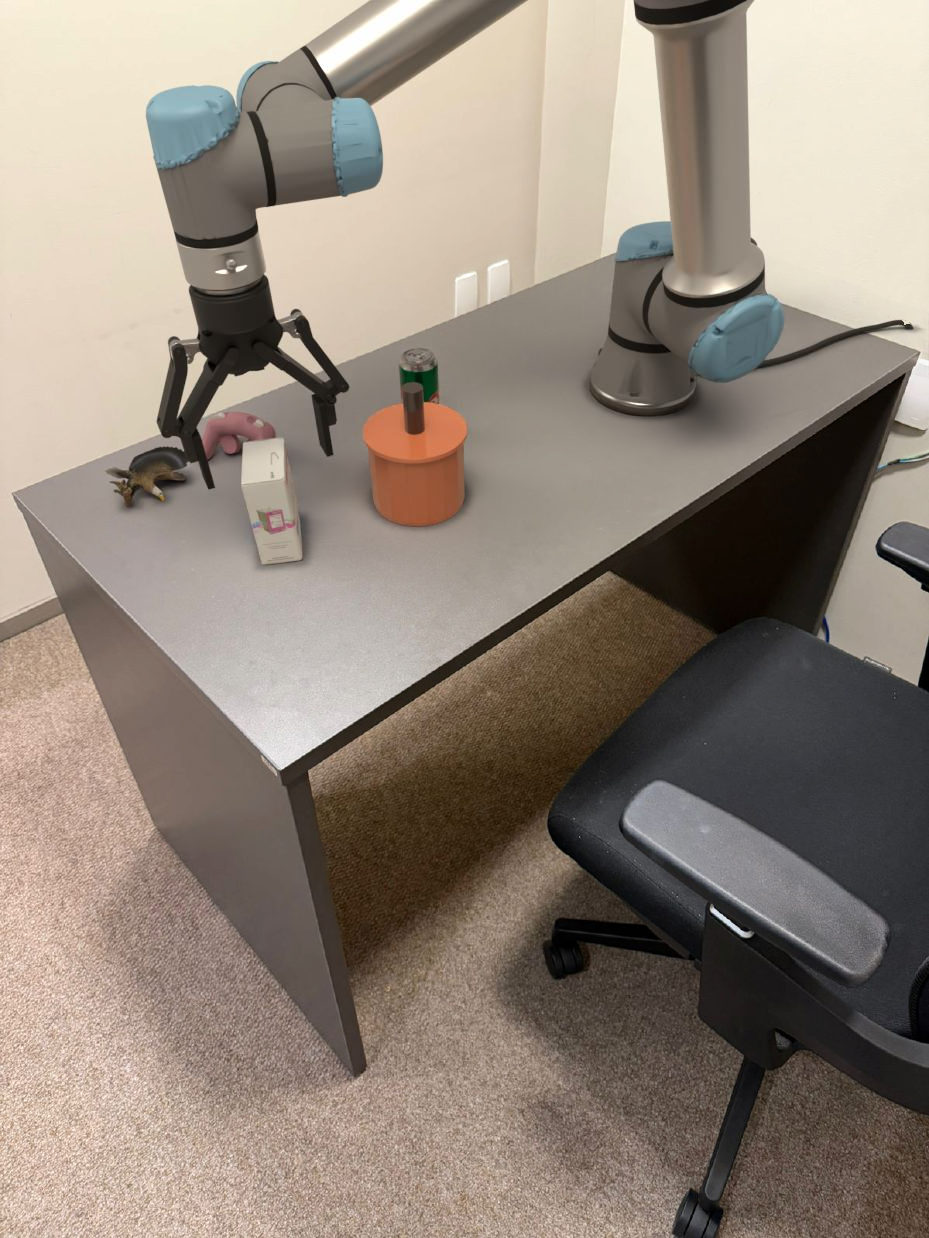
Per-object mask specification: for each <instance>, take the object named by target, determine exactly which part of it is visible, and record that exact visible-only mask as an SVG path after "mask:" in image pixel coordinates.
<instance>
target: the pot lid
mask: <svg viewBox="0 0 929 1238" xmlns="http://www.w3.org/2000/svg"><path fill="white" fill-rule="evenodd" d="M402 397H403V403H397V404H393V405H390V406H387V407H385V408H381V409H380V410H378V411H376V412H375V413H373V414H372V415H371V416H370V417H369V418H368V419H367V420H366V422H365V423H364V425H363V427H362V440H363V444H364V445H365V447H366V448H367V450H368V449H369V450H370V451H371V452H372V453H374V454H375V455H377V456H379V457H381V458H383V459H386V460H389V461H394V462H399V463H425V462H431V461H435V460H439V459H442V458H444V457H447V456H449V455H451V454H452V453H454V452H455V451H457V450H458V449H459V448H460V447H461V446H462V445H463V444H465V443H466V441H467V438H468V424H467V422H466V420H465V419H464V417H463V416H462V415H461V414H460V413H459V412H457V411H456V410H454V409H453V408H451V407H448V406H446V405H443V404H440V403H439V404H435V403H428V402H424V398H423V386H422V385H421V384H419V383H415V382H411V383H407V384H404V385H403V386H402Z"/></svg>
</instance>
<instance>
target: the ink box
mask: <svg viewBox="0 0 929 1238" xmlns="http://www.w3.org/2000/svg"><path fill="white" fill-rule="evenodd" d="M241 457H242V458H241V473H240V474H241V476H240V488H241V490H242V495H243V499H244V503H245V505H246V509H247V513H248V517H249V520H250V525H251V528H252V532H253V536H254V540H255V544H256V547H257V550H258V554H259V559H260V563H261V565H263V566H264V565H273V564H283V563H289V562H290V563H291V562H299V561H301V560H303V541H302V539H303V538H302V521H301V519H302V518H301V514H300V509H299V505H298V499H297V494H296V490H295V485H294V480H293V476H292V471H291V466H290V461H289V456H288V452H287V446H286V442H285V437H281V436H279V437H276V438H270V439H263V440H255V441H249V442H245V441H244V442H243V443H242V455H241Z"/></svg>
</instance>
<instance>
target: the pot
mask: <svg viewBox="0 0 929 1238" xmlns="http://www.w3.org/2000/svg"><path fill="white" fill-rule="evenodd" d="M464 444H465V443H464ZM464 444H463V445H462V446H461V447H460V448H459V449H458V450H457V451H455V452H454V453H452V454H451V455H449V456H447V457H444V458H442V459H439V460H435V461H431V462H425V463H399V462H394V461H389V460H386V459H383V458H381V457H379V456H377V455H375V454H374V453H372V452H371V451H370V450H369V449H368V448H367V454H368V462H369V463H368V464H369V471H370V472H369V474H370V482H371V490H372V501H373V503H374V507H375V509H376V511H377V512H378V513H379V514H380V515H381V516H382V517H383V518H384V519H386V520H388V521H390V522H391V523H395V524H398V525H402V526H407V527H426V526H431V525H436V524H440V523H442V522H445V521H447V520H449V519H450V518H452V517H453V516H455V515H456V514H457V513H458V512H459V511H460V509H461V508H462V506H463V504H464V501H465V452H464V451H465V445H464Z"/></svg>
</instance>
